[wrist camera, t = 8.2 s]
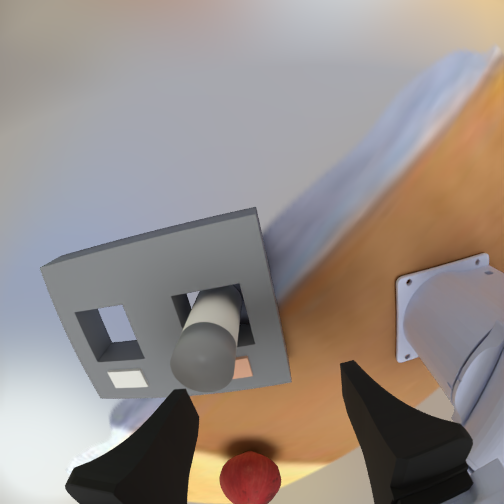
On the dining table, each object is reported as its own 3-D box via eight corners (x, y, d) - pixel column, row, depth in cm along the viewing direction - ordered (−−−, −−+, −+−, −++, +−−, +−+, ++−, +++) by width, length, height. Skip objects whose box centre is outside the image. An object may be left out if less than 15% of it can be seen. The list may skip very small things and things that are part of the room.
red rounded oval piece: (286, 440, 26) (291, 505, 18) (270, 468, 28) (272, 526, 20) (228, 432, 26) (221, 499, 18) (219, 461, 27) (211, 520, 20)
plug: (236, 276, 21) (225, 338, 14) (246, 317, 22) (240, 388, 15) (192, 284, 22) (161, 346, 14) (204, 323, 22) (182, 394, 15)
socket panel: (256, 206, 20) (255, 215, 17) (288, 358, 23) (292, 384, 20) (60, 255, 21) (37, 269, 18) (113, 378, 24) (99, 400, 21)
